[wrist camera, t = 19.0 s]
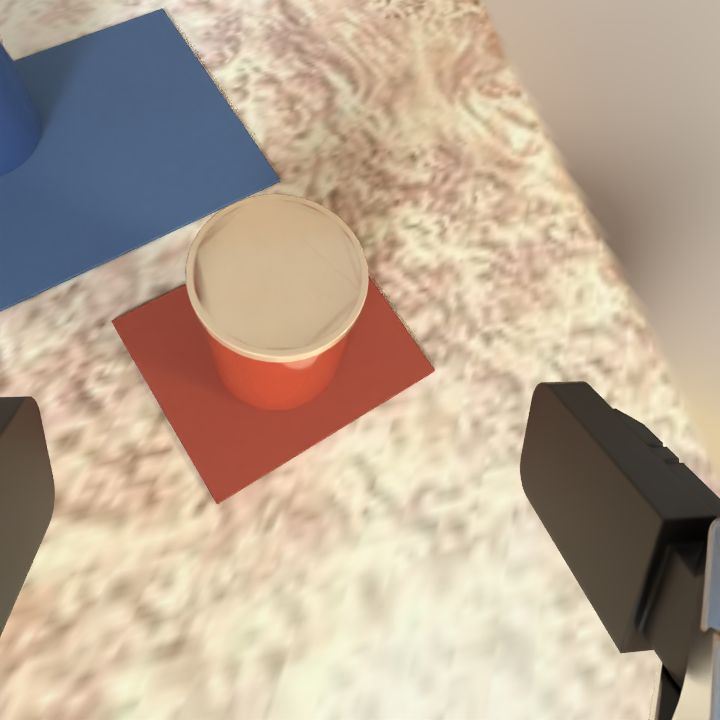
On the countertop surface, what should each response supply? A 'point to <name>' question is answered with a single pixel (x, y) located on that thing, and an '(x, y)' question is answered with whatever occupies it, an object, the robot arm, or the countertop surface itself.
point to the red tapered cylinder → (276, 296)
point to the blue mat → (118, 154)
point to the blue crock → (15, 116)
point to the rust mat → (251, 424)
